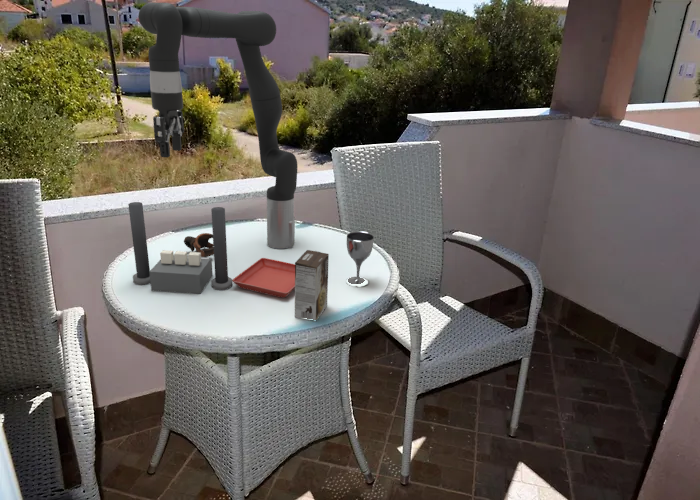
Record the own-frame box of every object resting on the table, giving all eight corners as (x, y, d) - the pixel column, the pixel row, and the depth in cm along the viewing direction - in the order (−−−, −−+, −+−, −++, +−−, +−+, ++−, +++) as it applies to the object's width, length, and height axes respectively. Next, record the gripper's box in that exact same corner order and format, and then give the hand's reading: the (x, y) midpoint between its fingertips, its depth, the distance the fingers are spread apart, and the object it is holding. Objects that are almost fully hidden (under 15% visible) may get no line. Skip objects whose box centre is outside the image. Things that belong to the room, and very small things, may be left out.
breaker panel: (212, 275, 157) (211, 256, 155) (200, 293, 146) (199, 274, 144) (167, 272, 157) (165, 253, 155) (151, 290, 146) (149, 270, 144)
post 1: (158, 276, 155) (150, 201, 145) (150, 285, 149) (141, 208, 140) (138, 275, 155) (129, 200, 146) (129, 284, 149) (119, 206, 140)
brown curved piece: (221, 249, 177) (224, 234, 171) (214, 270, 171) (216, 255, 165) (186, 239, 175) (188, 224, 169) (177, 261, 169) (178, 245, 163)
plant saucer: (287, 303, 144) (287, 292, 143) (231, 290, 150) (230, 279, 149) (313, 277, 160) (313, 268, 159) (262, 266, 166) (261, 257, 164)
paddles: (202, 262, 150) (201, 252, 149) (200, 265, 148) (199, 255, 147) (162, 260, 150) (161, 250, 149) (160, 263, 148) (159, 252, 147)
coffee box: (306, 302, 145) (307, 249, 138) (327, 306, 143) (329, 252, 137) (293, 317, 137) (293, 262, 130) (316, 322, 135) (317, 266, 129)
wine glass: (373, 279, 160) (377, 234, 155) (365, 289, 153) (369, 243, 148) (349, 274, 163) (351, 229, 157) (340, 284, 156) (343, 238, 150)
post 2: (234, 281, 154) (231, 206, 145) (229, 290, 149) (226, 213, 140) (214, 280, 154) (210, 205, 145) (208, 289, 149) (204, 211, 140)
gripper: (170, 93, 124) (175, 160, 130) (190, 88, 137) (194, 149, 144) (139, 91, 124) (146, 158, 131) (162, 86, 137) (167, 147, 144)
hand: (171, 153), depth 137 cm, fingers open, 8 cm apart
